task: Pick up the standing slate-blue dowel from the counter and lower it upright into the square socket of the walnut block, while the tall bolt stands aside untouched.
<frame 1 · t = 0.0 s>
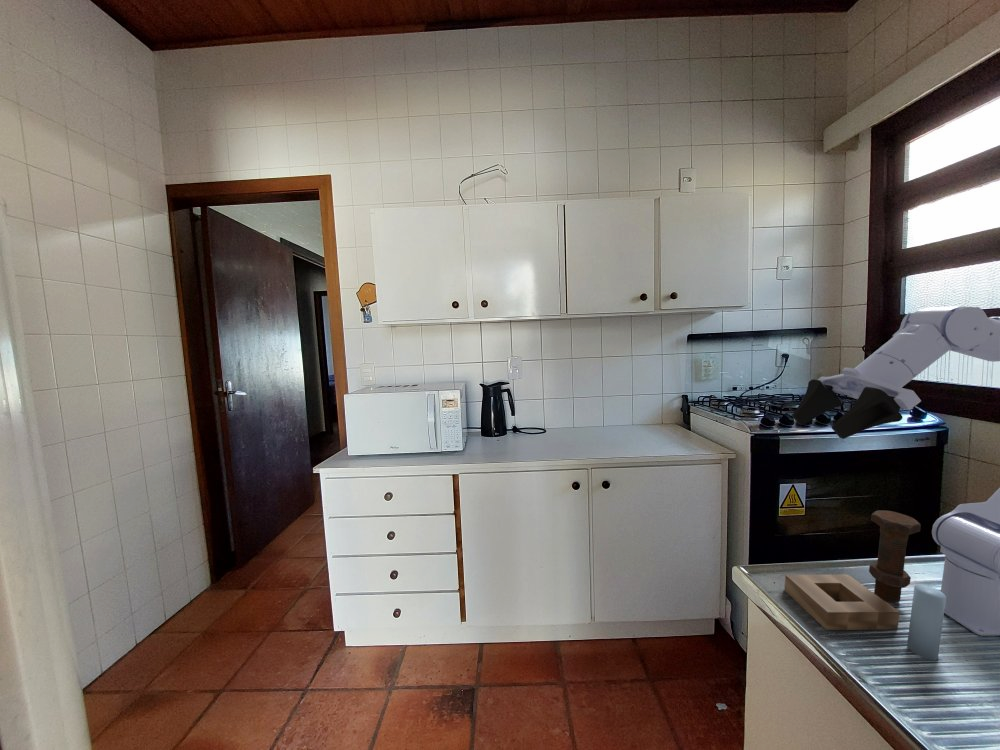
hand: (815, 426, 58), 32 cm above the countertop, tool tilted 50°, fingers open, 7 cm apart
bolt: (886, 599, 65), on the countertop
hole block: (836, 608, 63), on the countertop
dowel: (922, 651, 55), on the countertop
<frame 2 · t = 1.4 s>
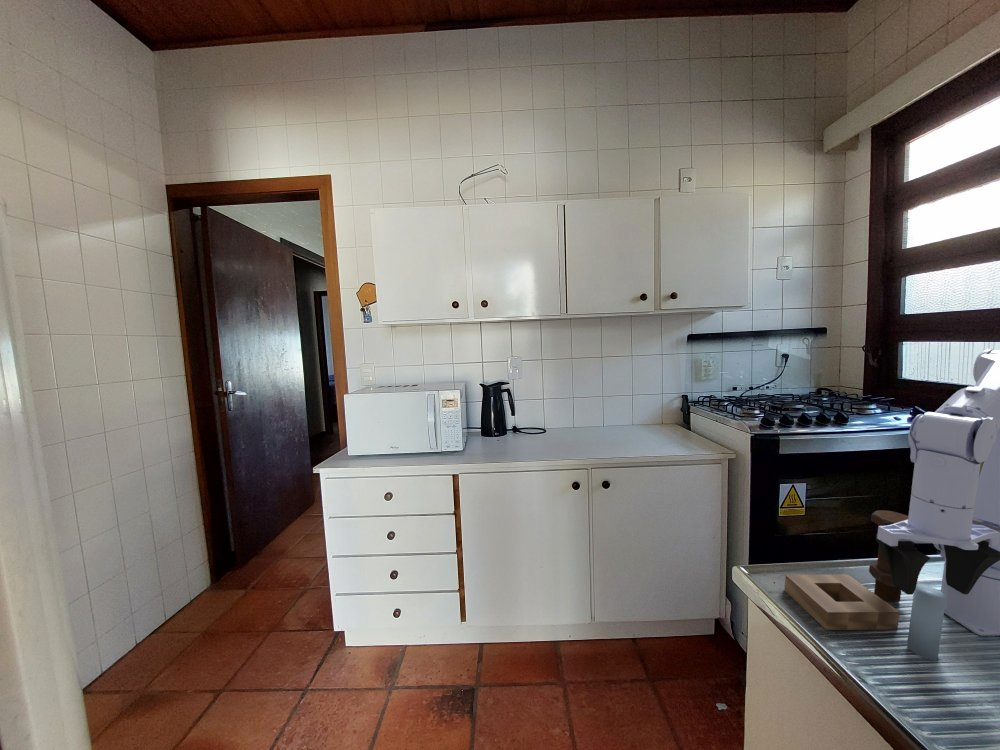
hand: (930, 589, 54), 10 cm above the countertop, tool pointing down, fingers open, 7 cm apart
nothing on the countertop moved.
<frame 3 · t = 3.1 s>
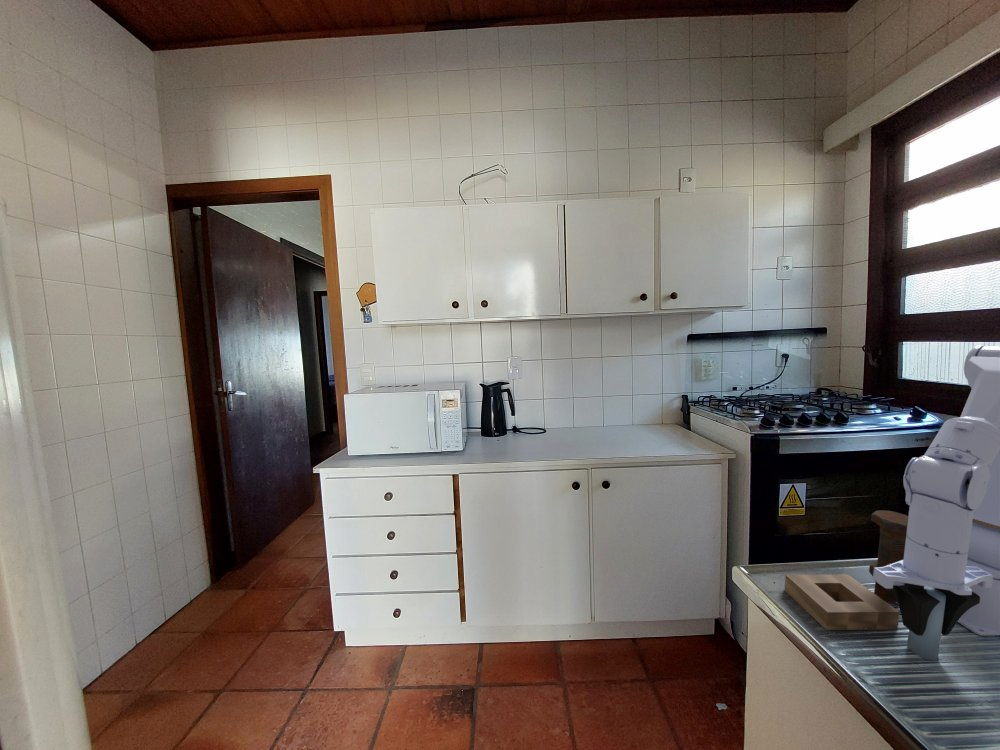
hand: (924, 630, 54), 3 cm above the countertop, tool pointing down, fingers closed on dowel, 3 cm apart
dowel: (922, 651, 55), on the countertop, touching gripper
everything else where it was.
when the fingers open (4 cm above the countertop, at t = 6.3 s): dowel stays where it is, resting in hole block.
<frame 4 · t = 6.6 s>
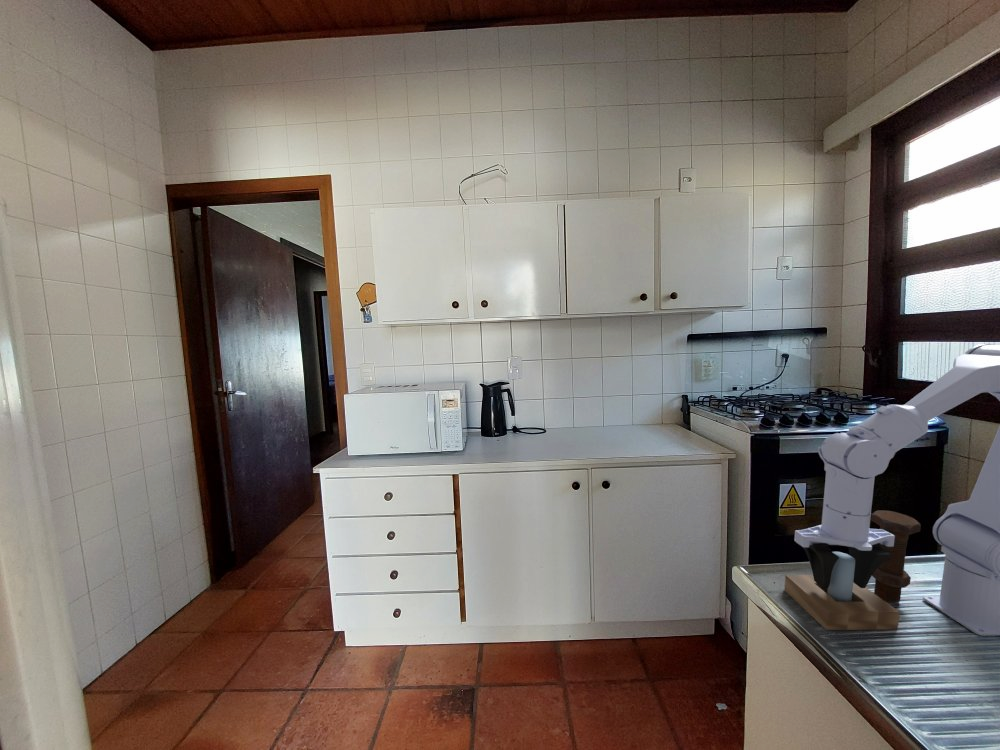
hand: (839, 584, 63), 4 cm above the countertop, tool pointing down, fingers open, 5 cm apart
dowel: (837, 609, 63), resting in hole block
everything else where it was.
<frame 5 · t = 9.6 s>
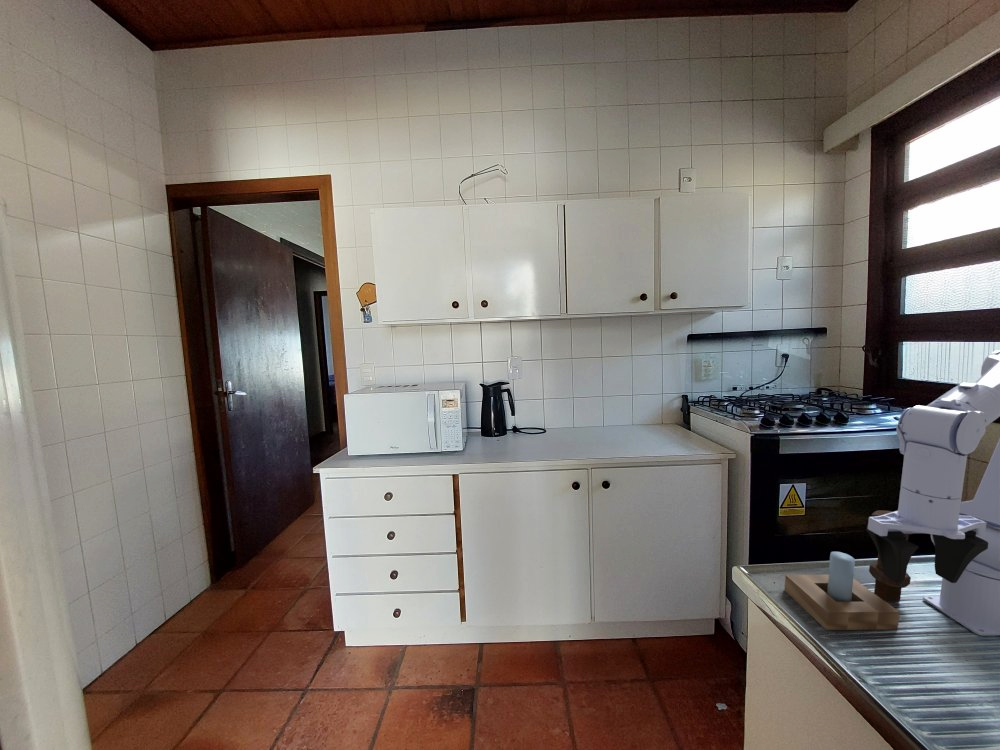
hand: (919, 578, 55), 10 cm above the countertop, tool pointing down, fingers open, 7 cm apart
nothing on the countertop moved.
at the end: dowel 0.2 cm off-centre on the hole block, point 0.0 cm above the hole block's base; dowel tilted 0°; the gripper is holding nothing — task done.
